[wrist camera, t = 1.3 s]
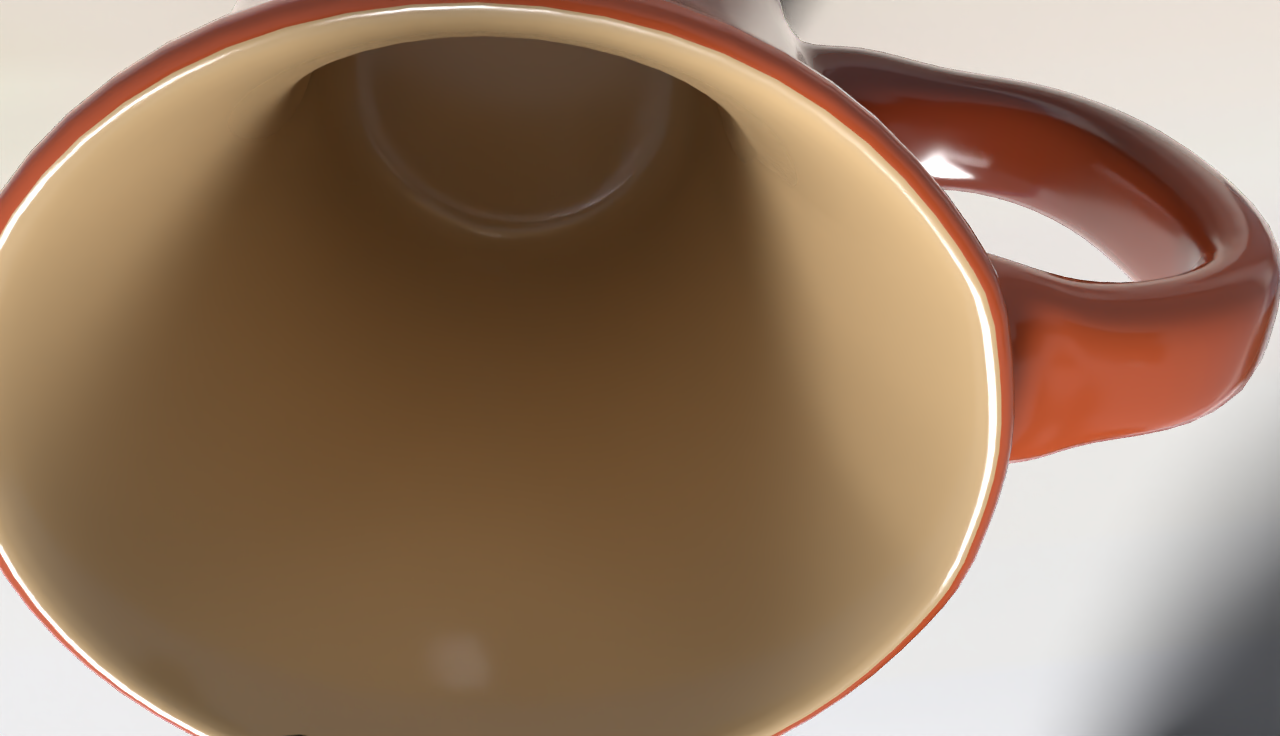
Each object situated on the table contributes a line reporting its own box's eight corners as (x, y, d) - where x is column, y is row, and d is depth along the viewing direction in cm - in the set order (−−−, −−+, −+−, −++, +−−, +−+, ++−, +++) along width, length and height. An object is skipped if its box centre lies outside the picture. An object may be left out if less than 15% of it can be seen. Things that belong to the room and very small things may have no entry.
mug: (296, 308, 21) (135, 844, 13) (144, -252, 16) (-290, 38, 8) (986, 250, 21) (1266, 740, 13) (1056, -323, 16) (1598, -115, 8)
